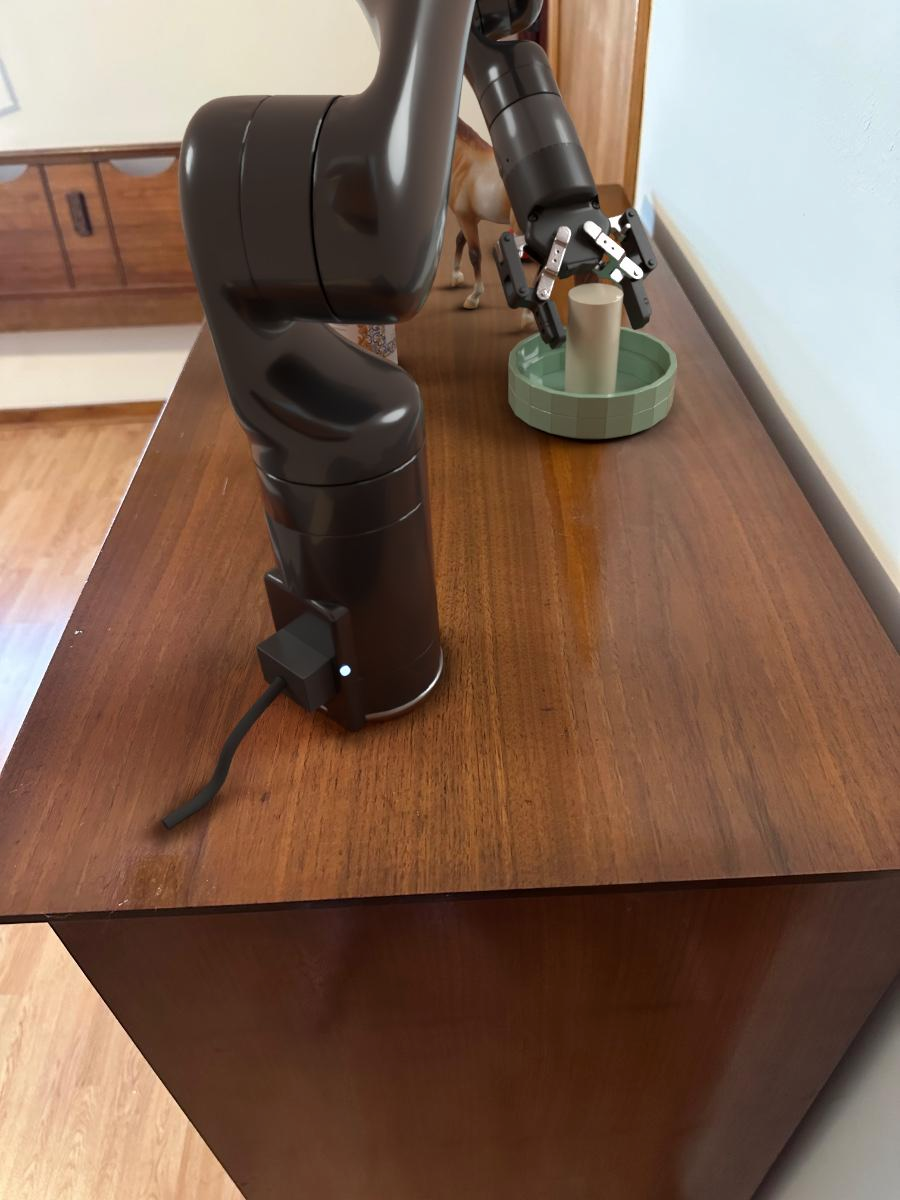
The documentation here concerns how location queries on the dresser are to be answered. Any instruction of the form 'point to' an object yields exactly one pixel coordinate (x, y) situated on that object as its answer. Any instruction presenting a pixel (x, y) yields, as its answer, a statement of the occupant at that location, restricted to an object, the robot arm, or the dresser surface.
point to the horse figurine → (482, 208)
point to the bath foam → (371, 338)
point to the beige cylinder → (592, 339)
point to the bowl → (592, 416)
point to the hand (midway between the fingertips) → (601, 335)
